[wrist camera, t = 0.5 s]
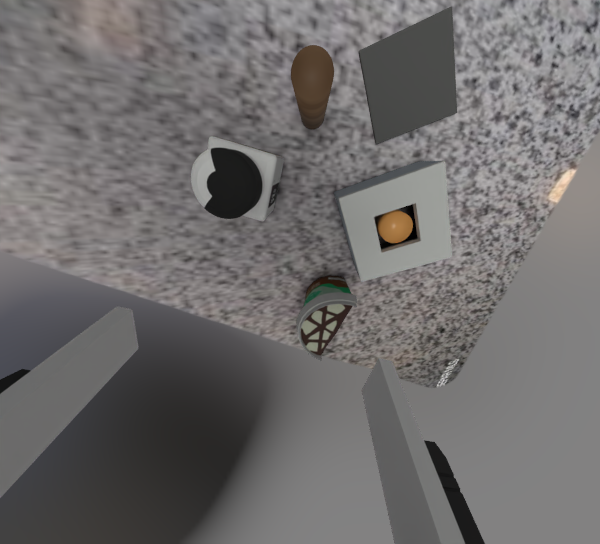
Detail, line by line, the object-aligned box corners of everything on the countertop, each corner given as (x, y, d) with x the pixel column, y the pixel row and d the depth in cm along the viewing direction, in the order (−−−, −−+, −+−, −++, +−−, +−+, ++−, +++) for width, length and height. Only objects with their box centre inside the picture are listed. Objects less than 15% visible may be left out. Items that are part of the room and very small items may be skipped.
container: (285, 157, 31) (268, 153, 20) (273, 211, 35) (253, 235, 23) (231, 141, 31) (181, 127, 19) (225, 197, 34) (179, 214, 22)
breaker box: (333, 192, 33) (338, 198, 27) (417, 161, 31) (445, 161, 24) (353, 262, 38) (361, 281, 31) (427, 240, 35) (452, 257, 29)
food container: (315, 257, 38) (316, 287, 29) (348, 271, 38) (358, 303, 30) (289, 311, 43) (283, 350, 34) (318, 322, 44) (319, 363, 35)
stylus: (298, 107, 29) (284, 57, 15) (320, 97, 28) (326, 36, 15) (305, 133, 30) (299, 107, 16) (327, 123, 29) (338, 90, 16)
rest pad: (358, 52, 26) (359, 50, 26) (449, 8, 24) (452, 6, 24) (375, 144, 30) (376, 144, 30) (455, 113, 28) (457, 112, 28)
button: (372, 213, 31) (377, 218, 28) (401, 203, 30) (410, 207, 27) (377, 239, 32) (383, 247, 29) (406, 231, 31) (414, 237, 29)
